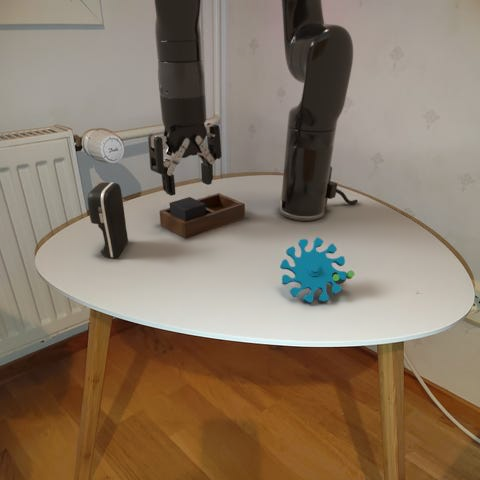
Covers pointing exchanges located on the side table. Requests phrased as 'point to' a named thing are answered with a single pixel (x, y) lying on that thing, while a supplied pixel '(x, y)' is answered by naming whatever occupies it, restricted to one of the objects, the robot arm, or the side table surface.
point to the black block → (187, 209)
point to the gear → (315, 270)
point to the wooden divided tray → (205, 216)
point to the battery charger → (109, 216)
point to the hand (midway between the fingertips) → (189, 188)
